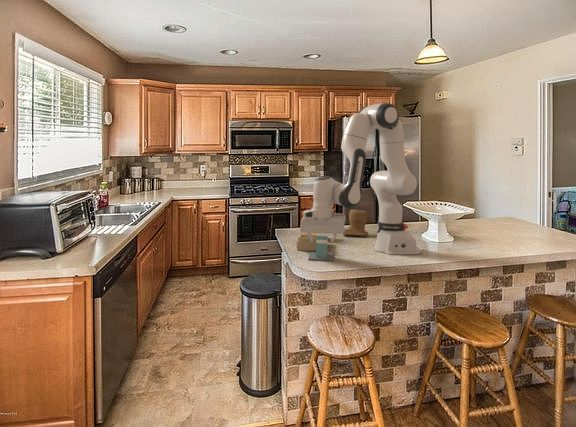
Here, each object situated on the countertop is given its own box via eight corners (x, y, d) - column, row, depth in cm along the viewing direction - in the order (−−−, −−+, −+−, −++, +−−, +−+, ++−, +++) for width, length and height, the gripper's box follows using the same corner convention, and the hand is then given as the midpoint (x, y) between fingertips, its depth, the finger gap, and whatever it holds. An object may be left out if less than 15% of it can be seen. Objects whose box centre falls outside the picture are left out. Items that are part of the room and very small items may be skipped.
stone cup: (366, 233, 230) (367, 208, 227) (369, 237, 218) (370, 211, 216) (340, 232, 231) (341, 207, 228) (342, 237, 219) (343, 211, 216)
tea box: (327, 254, 181) (327, 235, 179) (326, 257, 175) (327, 238, 174) (316, 253, 182) (316, 234, 180) (315, 257, 176) (316, 237, 174)
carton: (326, 242, 205) (327, 229, 204) (326, 252, 186) (326, 238, 185) (299, 241, 207) (299, 228, 206) (296, 251, 188) (296, 237, 187)
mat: (333, 254, 183) (333, 252, 183) (333, 261, 172) (333, 259, 172) (309, 253, 184) (309, 251, 184) (308, 260, 174) (308, 258, 174)
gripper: (345, 211, 177) (344, 241, 179) (300, 211, 179) (300, 240, 182) (346, 214, 171) (345, 244, 173) (299, 213, 173) (299, 243, 176)
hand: (322, 242), depth 177 cm, fingers open, 8 cm apart
